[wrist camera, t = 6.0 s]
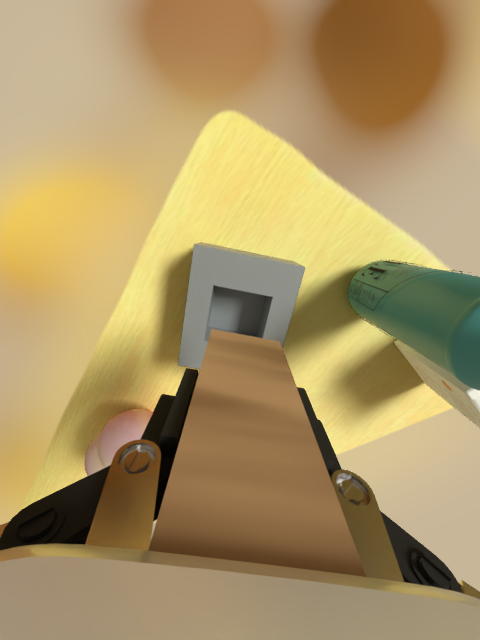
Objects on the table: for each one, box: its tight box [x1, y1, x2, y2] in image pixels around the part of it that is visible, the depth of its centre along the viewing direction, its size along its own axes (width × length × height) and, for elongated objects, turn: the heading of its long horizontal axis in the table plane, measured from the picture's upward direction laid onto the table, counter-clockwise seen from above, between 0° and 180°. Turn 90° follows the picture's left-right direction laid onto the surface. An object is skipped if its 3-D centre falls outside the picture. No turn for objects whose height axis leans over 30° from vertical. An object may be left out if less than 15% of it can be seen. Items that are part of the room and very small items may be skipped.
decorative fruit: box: [85, 408, 153, 476], centre depth 29 cm, size 9×8×10 cm
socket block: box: [178, 243, 305, 369], centre depth 26 cm, size 12×10×5 cm
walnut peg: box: [148, 329, 367, 577], centre depth 9 cm, size 4×4×12 cm
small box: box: [394, 339, 480, 428], centre depth 26 cm, size 8×6×10 cm
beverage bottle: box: [348, 260, 480, 390], centre depth 19 cm, size 6×7×20 cm
